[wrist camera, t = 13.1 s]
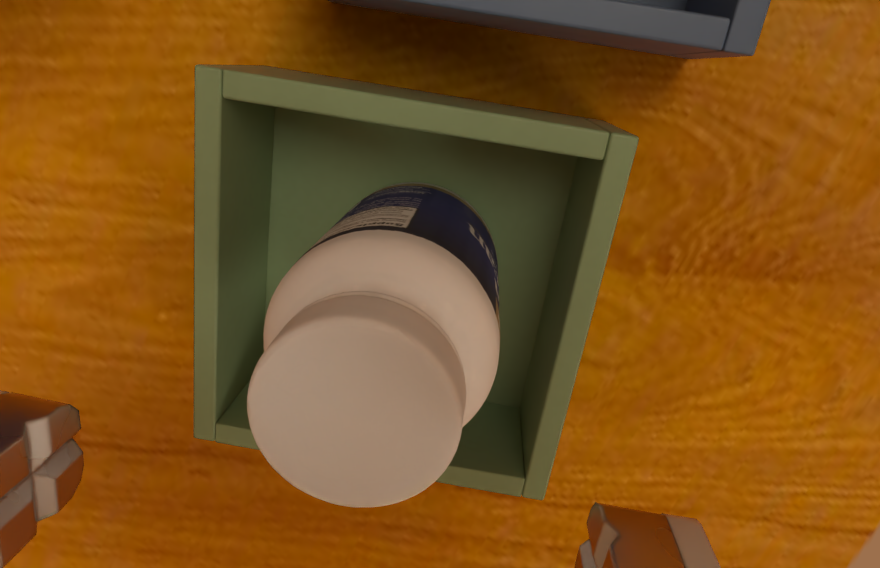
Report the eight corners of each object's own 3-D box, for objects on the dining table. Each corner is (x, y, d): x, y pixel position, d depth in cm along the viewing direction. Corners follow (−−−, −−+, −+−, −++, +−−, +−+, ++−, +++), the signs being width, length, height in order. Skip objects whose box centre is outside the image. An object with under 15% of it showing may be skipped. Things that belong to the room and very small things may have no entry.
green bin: (605, 120, 18) (640, 136, 14) (533, 417, 22) (543, 502, 18) (262, 65, 19) (193, 63, 14) (250, 367, 22) (192, 438, 18)
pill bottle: (517, 309, 20) (538, 510, 11) (371, 349, 21) (277, 564, 12) (469, 155, 18) (446, 242, 9) (313, 206, 19) (154, 329, 10)
